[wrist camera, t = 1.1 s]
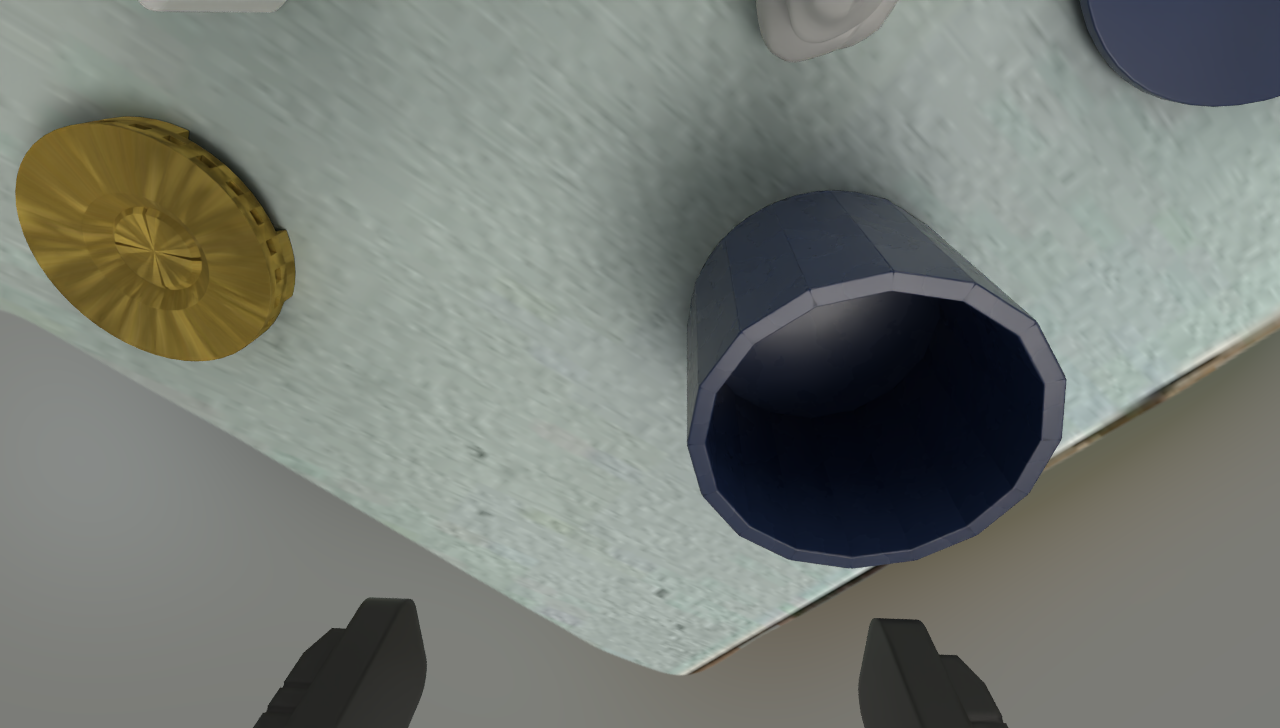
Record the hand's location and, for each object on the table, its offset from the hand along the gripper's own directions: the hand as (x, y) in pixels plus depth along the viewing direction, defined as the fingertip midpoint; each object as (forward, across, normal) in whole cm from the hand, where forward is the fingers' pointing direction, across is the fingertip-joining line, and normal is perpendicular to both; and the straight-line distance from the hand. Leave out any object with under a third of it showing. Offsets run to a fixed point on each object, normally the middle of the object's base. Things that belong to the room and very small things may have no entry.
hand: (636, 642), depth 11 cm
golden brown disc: (+22, +25, -2) cm, 34 cm away
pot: (+22, -8, +1) cm, 24 cm away
